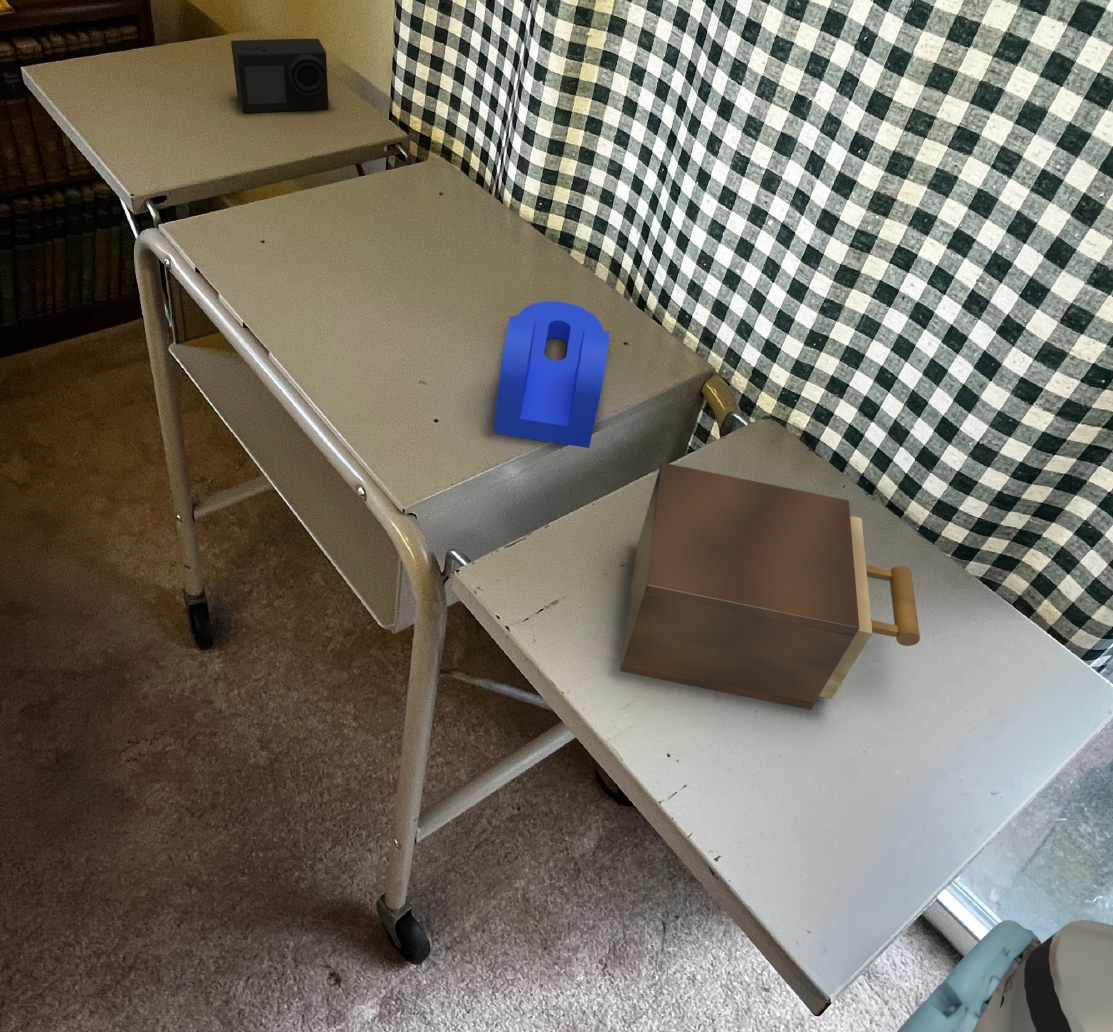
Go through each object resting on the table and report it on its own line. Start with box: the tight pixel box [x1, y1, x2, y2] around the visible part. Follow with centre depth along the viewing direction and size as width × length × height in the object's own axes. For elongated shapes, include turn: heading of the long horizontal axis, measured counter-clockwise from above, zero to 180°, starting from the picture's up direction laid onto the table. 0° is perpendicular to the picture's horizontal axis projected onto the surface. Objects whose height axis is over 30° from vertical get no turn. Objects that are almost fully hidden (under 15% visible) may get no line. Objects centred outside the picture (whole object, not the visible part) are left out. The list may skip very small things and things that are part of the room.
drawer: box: [818, 515, 921, 700], centre depth 67 cm, size 17×10×8 cm, turn 81°
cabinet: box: [620, 462, 859, 711], centre depth 67 cm, size 14×12×10 cm
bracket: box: [493, 300, 610, 449], centre depth 85 cm, size 18×8×9 cm, turn 175°
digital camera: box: [230, 38, 330, 114], centre depth 115 cm, size 10×5×7 cm, turn 113°
